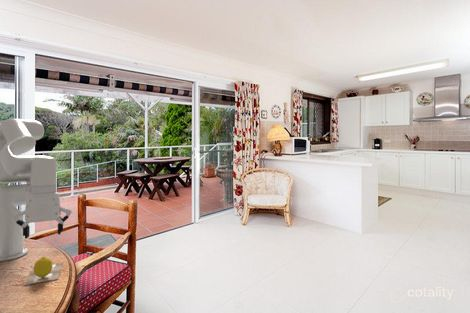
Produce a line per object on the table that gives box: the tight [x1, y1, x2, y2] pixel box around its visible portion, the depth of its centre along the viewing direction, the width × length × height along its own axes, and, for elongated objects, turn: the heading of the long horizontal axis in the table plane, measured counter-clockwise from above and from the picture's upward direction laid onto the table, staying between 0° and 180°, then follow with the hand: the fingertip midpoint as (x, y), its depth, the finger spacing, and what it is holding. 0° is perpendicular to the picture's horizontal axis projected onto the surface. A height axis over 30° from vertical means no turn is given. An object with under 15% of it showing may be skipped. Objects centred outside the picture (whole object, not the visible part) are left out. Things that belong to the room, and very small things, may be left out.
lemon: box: [33, 256, 53, 278], centre depth 92 cm, size 6×6×8 cm
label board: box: [23, 262, 64, 287], centre depth 95 cm, size 14×10×1 cm
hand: (43, 235), depth 91 cm, fingers open, 9 cm apart
